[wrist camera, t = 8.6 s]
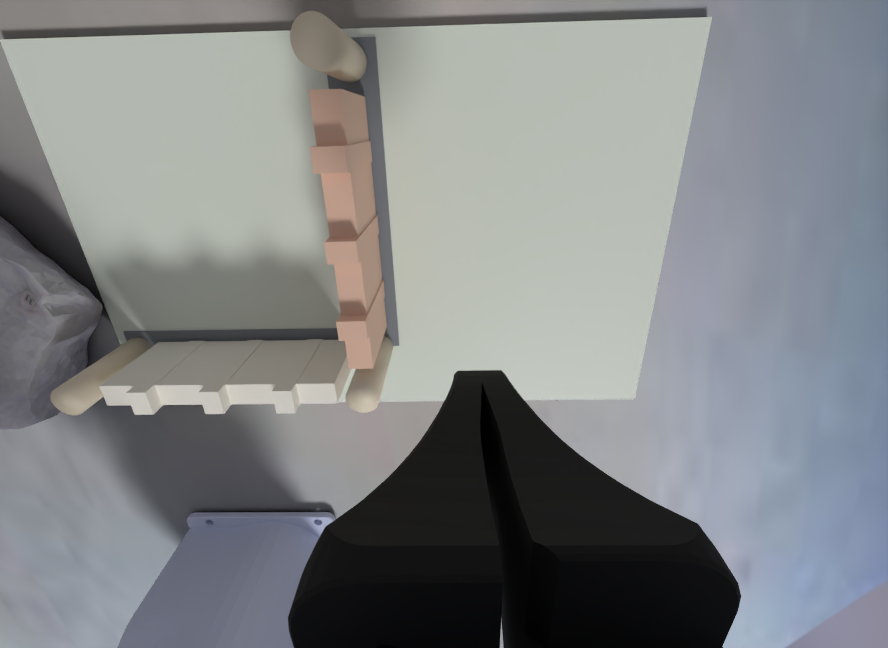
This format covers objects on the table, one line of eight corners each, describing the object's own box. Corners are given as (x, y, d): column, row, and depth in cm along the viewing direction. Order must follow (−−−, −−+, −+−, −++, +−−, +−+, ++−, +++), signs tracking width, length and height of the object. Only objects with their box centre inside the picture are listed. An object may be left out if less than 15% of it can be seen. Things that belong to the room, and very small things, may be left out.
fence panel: (390, 326, 21) (375, 376, 17) (362, 326, 21) (340, 376, 17) (364, 38, 16) (333, 7, 12) (327, 40, 16) (283, 9, 12)
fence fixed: (137, 357, 23) (54, 418, 18) (128, 333, 22) (40, 390, 17) (395, 354, 22) (380, 415, 17) (393, 330, 22) (377, 386, 17)
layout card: (147, 400, 24) (142, 405, 23) (7, 41, 17) (-4, 39, 16) (632, 395, 23) (635, 400, 23) (707, 18, 16) (713, 16, 15)
